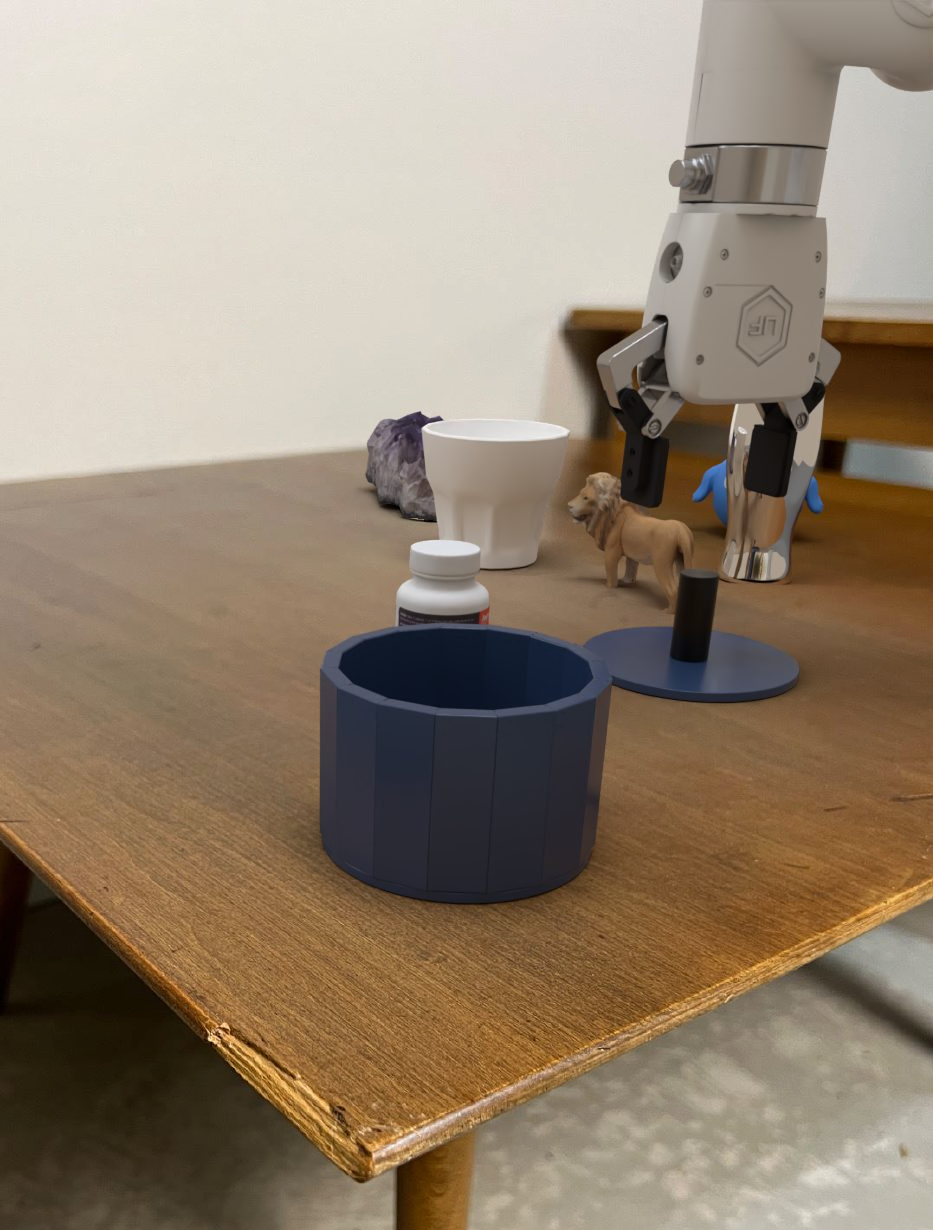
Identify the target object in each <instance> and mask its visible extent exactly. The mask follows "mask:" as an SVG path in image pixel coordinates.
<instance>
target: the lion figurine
mask: <svg viewBox="0 0 933 1230" xmlns="http://www.w3.org/2000/svg"><path fill="white" fill-rule="evenodd" d="M585 482H586V485H585V487H583V488H582V489H580V492H579V494H578V495H577V496H576V497H574V498H573V499H571V500H570V501H568V502H567V507H568V510H569V512H570V513H571V514H572V522H573V524H575V525H580V524H583V527H584V530H585V533H587V534H588V535H589V536H591V537H592V538H593V539H594V543H595V547H596V548H597V549H598V550H600V551H602V552H604V569H605V575H606V583H602V584H601V586H602V587H605V588H609V589H615V588H618V583H619V577H618V576H619V575H618V569H619V564H620V562H621V560H622V558H623V557H625V570H624V575H623V577H622V579H621V582H622V583H627V584H635V583H636V581H637V575H638V569H639V564H641V565H645V566H652V568H653V571H654V575H655V578H656V580H657V583H658V584H659V586H660V587H661V590H663V592H664V594H665V596H666V598H667V600H668V601H667V602H668V604H669V606H668V607H665V608H664V609H662V612H663V613H665V614H668V615H675V608H676V600H677V592H678V584H677V583H676V581H675V577H674V571H673V569H674V568H673V567H674V566H675V571H676V575H677V580H678V581H679V577H680V572H681V571H682V570H685V569H694V568H693V557H694V555H695V554H694V553H695V538H694V535H693V533H692V530H691V529H690V528H689V527H688V525H686V523H684V522H682V521H680V520H676V519H665V520H664V519H658V518H655V517H654V516H651V515H650V514H649V512H648V511H647V509H646V507H644V506H641V505H638V504H634V503H631V502H628V501H625V500H623V499H622V498H621V496H620V489H621V478H619V477H618V476H617V475H616V476H614V475H612V474H611V473H608V472H596V473H593V474H590V475H588V477H585Z"/></svg>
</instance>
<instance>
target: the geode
mask: <svg viewBox="0 0 933 1230" xmlns="http://www.w3.org/2000/svg"><path fill="white" fill-rule="evenodd" d="M439 421H445V419H444V418H442V416H441V415H436V416H433V417H429V416H427V415H425V414H424V413H422V411H421V410H420V411H415V412H412V413H409V414H406V415H405V416H402V417H400V418H398V419H393V418H384V419H381V420H380V421H379V422H378V423H377V425H376V426H375V428H374V430H373V431H372V433H371V435H369V437H368V439H367V441H366V449H367V452H368V457H367V463H366V470H365V473H364V475H365V479H366V481H367V483H369V484H372V485H373V486H374V487H375V493H376V495H377V502H378V503H379V504H387V505H388V504H389V505H393V506H396V507H399V510H400V512H401V514H402V516H403V517H404V518H406V519H409V518H418V519H424V520H437V517H436V509H435V502H434V495H433V490H432V488H431V486H430V484H429V481H428V479H427V477H426V468H425V458H424V448H423V438H422V427H424V426H425V425H427V424H428V423H433V422H439ZM424 520H423V521H424Z"/></svg>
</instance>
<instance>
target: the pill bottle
mask: <svg viewBox="0 0 933 1230" xmlns="http://www.w3.org/2000/svg"><path fill="white" fill-rule="evenodd" d="M480 555H481V550H480V547H478V546H477V545H474V544H471V543H467V542H462V541H453V540H440V539H429V540H422V541H421V540H420V541H417V542H415V543H413V544H411V545H410V551H409V561H408V567H409V572H410V573H411V574H412V578H410V579H408V580H406V581H404V582H403V583H402V584H401V585H400V586H399V587H398V589H397V592H396V597H395V616H394V618H395V619H394V620H395V625H394V627H395V626H407V625H419V624H431V623H456V624H485V625H490V624H489V622H490V606H491V604H490V602H491V601H490V600H491V599H490V594H489V591H488V589H487V588H486V587H485V586H484V585H483V584H482V583H480V582H478V581H476V580H475V579H476V577H477V576H478V575H479V574H480V570H481V569H480Z"/></svg>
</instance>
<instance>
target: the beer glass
mask: <svg viewBox="0 0 933 1230" xmlns="http://www.w3.org/2000/svg"><path fill="white" fill-rule="evenodd" d="M825 396H826V394H825V395H824V398H823V399H822V401H821V402H820V403H819V404H818V405H817V406H816V407H815V409H814V410H813V411H812V412H811V413H810V414H809V422H808V425H807V426H806V428H805V429H803V430H801V431H797V432H798V434H797V440H796V446H795V451H794V457H793V463H792V468H791V474H790V480H789V486H788V491H787V494H786V496H785V497H779V498H775V497H771V496H768V495H764V494H760V493H757V492H753V491H749V490H747V489H746V488H745V487H744V480H745V473H746V467H747V461H748V455H749V448H750V442H751V436H752V431H753V429H754V424H762V425H764V422H763V420H762V418H761V416H760V414H759V412H758V409H757V407H756V405H755V403H749V404H734V410H733V413H732V419H731V423H730V429H729V434H728V440H727V441H728V442H727V449H726V458H725V460H726V491H727V526H726V532H725V539H724V543H723V546H722V550H721V553H720V556H719V559H718V562H717V565H716V568H715V572H716V573H718V574H719V580H723V581H726V582H728V583H731V584H748V585H776V586H777V585H778V586H779V585H780V586H784V585H787V584H789V583H790V582H791V581H792V579H793V578H792V577H793V566H792V565H793V562H792V549H793V540H794V534H795V530H796V527H797V523H798V520H799V517H800V514H801V512H802V511H801V508H802V505H803V506H804V503H805V497H806V494H807V491H808V488H809V485H810V482H811V479H812V476H813V475H814V472H815V469H816V465H817V460H818V455H819V450H820V444H821V436H822V428H823V418H824V406H825V405H824V404H825ZM813 477H814V476H813ZM800 511H801V512H800Z"/></svg>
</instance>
